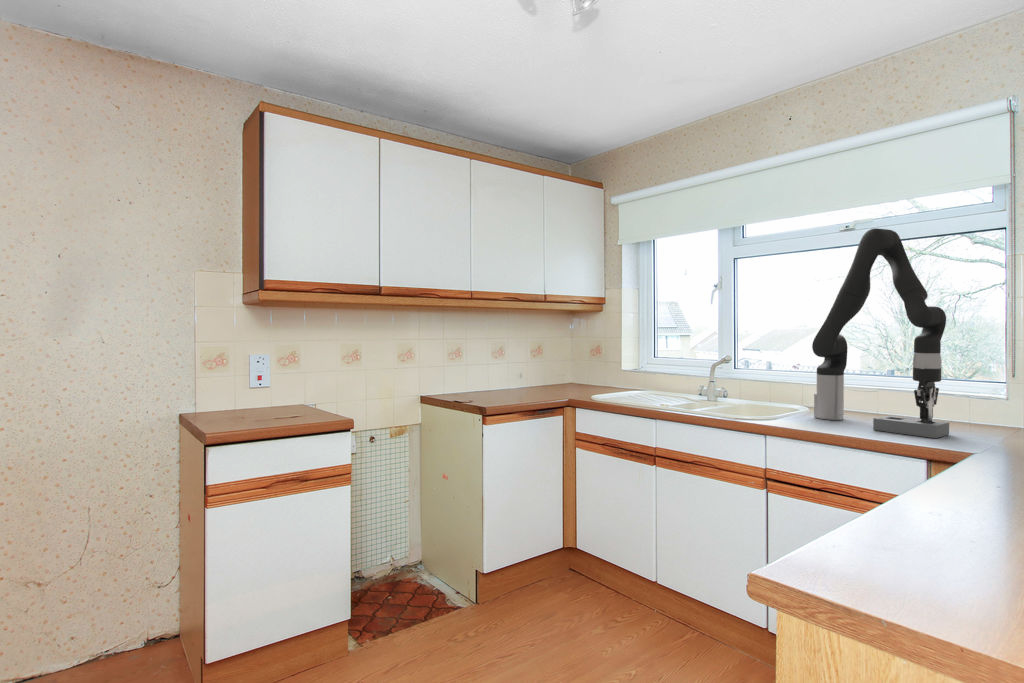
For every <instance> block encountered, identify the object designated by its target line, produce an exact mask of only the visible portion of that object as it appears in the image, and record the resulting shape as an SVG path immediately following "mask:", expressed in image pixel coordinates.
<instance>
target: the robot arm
mask: <svg viewBox="0 0 1024 683" xmlns="http://www.w3.org/2000/svg"><path fill="white" fill-rule="evenodd" d="M878 256H882V257H883V258H884V260H885V261H886V262H887V263H888V265H889V267H890V269H891V274H892V283H893V286H894V288H895V291H896V293H898V295H899V296H900V298H901V300H902V301H903V304H904V309H905V313H906V316H907V319H908V320H909V322H910V323H911V324H912V325H913V326H915V327H916V328H918V329H919V328H922V329H921V330H922V331H921V333H920V334H919V335H917V336H915V337H914V342H913V357H912V380H913V381H914V382H918V386H917V389H914V390H913V393H914V398H915V399H914V400H915V404H916V406H917V407H918V408H919V419H924V420H927V419H929V402H930V401H931V398H933V400H932V419H933V418H934V407H935V406H936V405H937V402H938V396H939V391H940V388H939V387H936V383H940V382H942V363H943V362H942V356H941V352H942V350H941V348H942V347H941V345H942V344H941V343H942V342H941V341H942V337H943V335H944V331H945V328H946V324H947V315H946V312H945V311H944V309H943V308H941V307H939V306H932V305H930V306H929V305H927V303H926V300H927V299H928V296H929V294H928V292H927V290H926V288H925V287H924V285H923V283H922V282H921V280H920V279H919V277H918V276H917V273H916V272H915V270H914V268H913V267H912V265H911V262H910V260H909V257H908V255H907V253H906V250H905V247H904V244H903V242H902V240H901V237H900V236H899V234H898V233H897V232H896V231H894V230H893V229H892V230H891V229H887V228H878V227H877V228H871V229H869V230H866V232H865V233H864V234H863V235H862V237H861V239H860V241H859V243H858V246H857V249H856V252H855V255H854V258H853V260H852V263H851V266H850V267H849V270H848V273H846V274H847V275H846V277H845V279H844V282H843V283H842V285H841V287H840V290H839V291H838V292H837V295H836V297H835V299H834V302H833V304H832V306H831V308H830V311H829V313H828V315H827V317H826V318H825V319H824V320H825V321H823V324H822V325H821V327H820V328H819V330H818V332H817V333H816V335H815V337H814V339H813V341H812V344H811V345H812V346H811V349H812V351H813V353H814V355H815V356H816V357H820V358H824V359H823V362H822V364H820V365H818V366H817V367H816V392H815V393H814V394H813V417H814V418H817V419H821V420H831V421H840V420H841V421H842V420H844V414H845V413H844V405H845V404H844V400H845V399H844V398H845V396H844V394H845V380H844V379H845V378H844V377H845V371H846V367H847V364H848V363H847V362H848V343H847V340H846V337H844V335H842V334H841V332H842V330H843V328H844V327H845V326H846V324H848V323H849V322H850V321H851V320H852V319H853V318H854V317H855V316H856V315H857V314H858V313H859V312H860V311H861V310H862V308H863V307H864V305H865V302H866V301H867V299H868V297H869V295H870V292H871V271H872V268H873V266H874V264H875V262H876V260H877V258H878ZM926 398H927V399H926ZM922 401H923V403H922Z"/></svg>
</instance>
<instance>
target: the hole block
mask: <svg viewBox="0 0 1024 683" xmlns="http://www.w3.org/2000/svg"><path fill="white" fill-rule="evenodd" d="M872 420H873V422H872V423H873V425H872V426H873V430H874V431H879V432H886V433H894V434H902V435H909V436H917V437H924V438H930V439H937V438H938V439H939V438H942V437H945V436H948V435H950V422H949V421H943V420H942V421H939V420H934V419H932V424H929V423H921V419H920V418H915V417H907V416H906V417H904V416H897V415H888V414H887V415H883V416H877V417H874V418H873V419H872Z"/></svg>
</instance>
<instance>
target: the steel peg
mask: <svg viewBox="0 0 1024 683" xmlns="http://www.w3.org/2000/svg"><path fill="white" fill-rule="evenodd" d="M926 399H927V398H926ZM932 400H933V398H931V401H930V402H929V419H927V420H924V419H921V423H929V424H932V420H933V418H932V408H933V407H932ZM922 403H923V401H922Z"/></svg>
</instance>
